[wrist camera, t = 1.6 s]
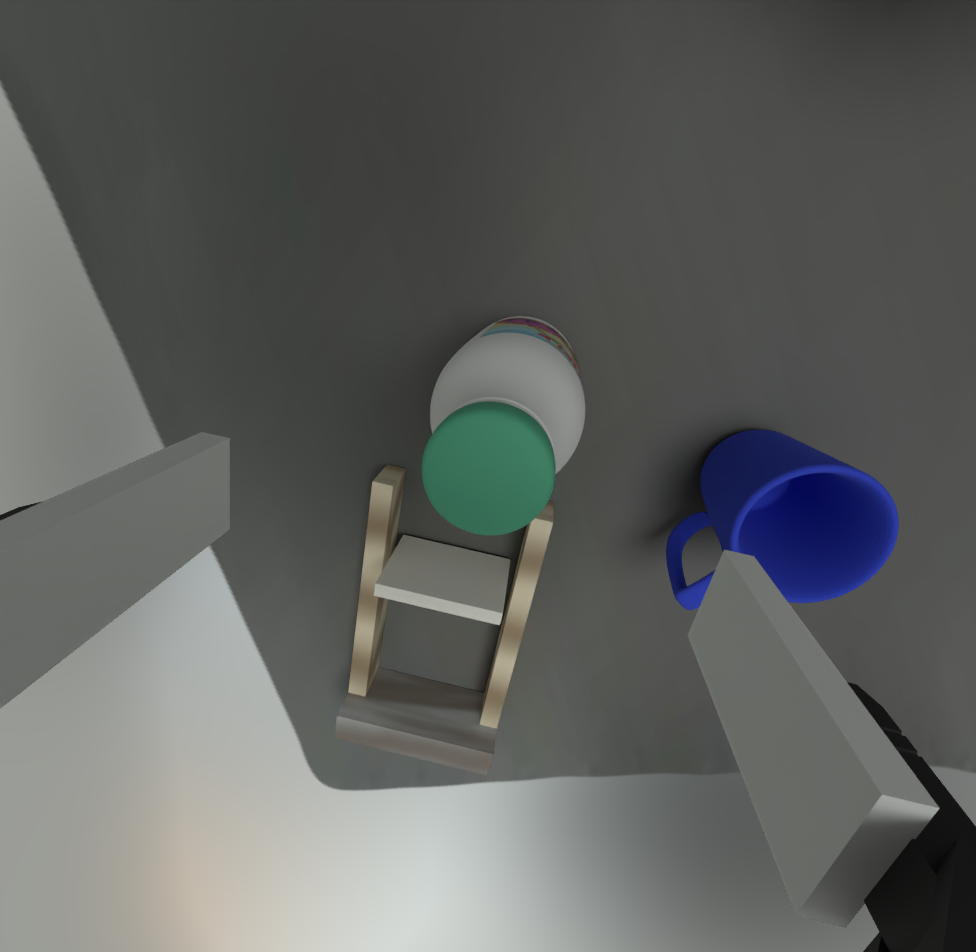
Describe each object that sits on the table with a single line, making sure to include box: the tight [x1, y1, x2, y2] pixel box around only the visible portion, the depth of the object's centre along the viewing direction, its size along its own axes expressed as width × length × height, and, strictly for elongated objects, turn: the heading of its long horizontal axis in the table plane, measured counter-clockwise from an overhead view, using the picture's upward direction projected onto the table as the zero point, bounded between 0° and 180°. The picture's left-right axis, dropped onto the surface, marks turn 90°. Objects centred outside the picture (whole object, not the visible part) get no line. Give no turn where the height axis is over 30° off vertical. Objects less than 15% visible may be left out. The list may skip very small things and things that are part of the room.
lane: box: [335, 464, 553, 776], centre depth 40 cm, size 22×13×6 cm, turn 169°
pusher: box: [374, 535, 511, 625], centre depth 38 cm, size 4×9×7 cm, turn 79°
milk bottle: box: [422, 316, 585, 535], centre depth 26 cm, size 8×8×20 cm
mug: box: [666, 430, 899, 610], centre depth 32 cm, size 8×12×10 cm
